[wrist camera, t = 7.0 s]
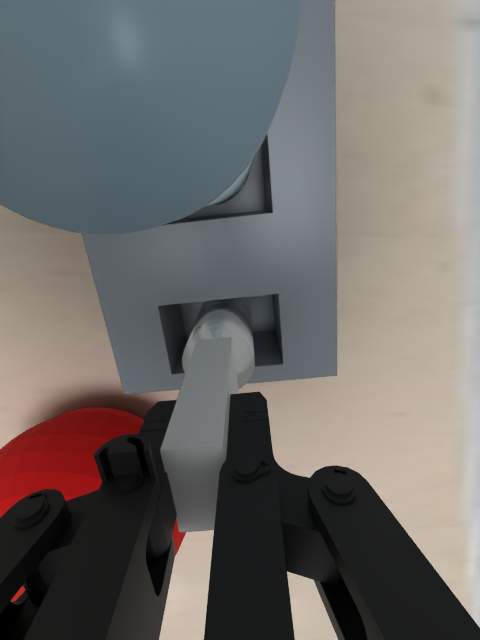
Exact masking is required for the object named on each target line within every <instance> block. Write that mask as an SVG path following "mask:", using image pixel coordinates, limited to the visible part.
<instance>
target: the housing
mask: <svg viewBox="0 0 480 640" xmlns="http://www.w3.org/2000/svg"><path fill="white" fill-rule="evenodd" d="M82 236H83V240H84V244H85V247H86V251H87V255H88V259H89V262H90V266H91V270H92V274H93V278H94V281H95V285H96V289H97V293H98V296H99V300H100V304H101V308H102V311H103V315H104V319H105V323H106V327H107V330H108V334H109V338H110V342H111V345H112V349H113V353H114V357H115V360H116V364H117V368H118V372H119V376H120V379H121V383H122V387H123V391H124V394H135V393H146V392H157V391H169V390H180V389H181V386H182V383H183V380H184V377H185V372H184V370H183V365H182V357H183V352H184V349H185V347H186V344H187V342H188V339H189V337H190V334H191V332H192V329H193V327H194V324H195V322H196V319H197V316H198V314H199V311H200V309H201V306H202V304H203V302H204V301H211V300H221V299H231V298H241V297H245V298H246V299H247V301H248V302H249V304H250V307H251V316H252V330H253V344H254V358H255V366H254V371H253V374H252V376H251V378H250V379H249V381H248V382H247V383H259V382H270V381H281V380H292V379H304V378H315V377H326V376H337V268H336V108H335V0H301V8H300V16H299V24H298V32H297V41H296V46H295V50H294V55H293V59H292V63H291V68H290V72H289V76H288V79H287V82H286V85H285V88H284V91H283V94H282V96H281V99H280V102H279V105H278V108H277V111H276V113H275V116H274V119H273V121H272V124H271V126H270V128H269V130H268V132H267V134H266V136H265V138H264V141H263V143H262V145H261V147H260V148H259V150H258V151H257V153H256V154H255V156H254V157H253V161H252V165H251V169H250V173H249V176H248V179H247V181H246V183H245V185H244V186H243V188H242V189H241V190H240V192H239V193H238V194H237V195H236V196H235V197H233V198H232V199H230V200H229V201H227V202H225V203H222V204H218V205H213V206H206V207H203V208H202V209H200V210H198V211H196V212H194V213H192V214H190V215H188V216H186V217H184V218H182V219H179V220H176V221H173V222H170V223H167V224H164V225H161V226H158V227H154V228H151V229H147V230H142V231H136V232H131V233H125V234H104V235H99V234H88V233H82ZM247 383H246V384H247Z"/></svg>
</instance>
